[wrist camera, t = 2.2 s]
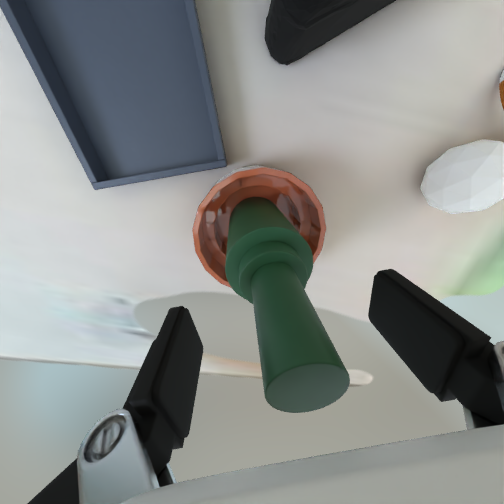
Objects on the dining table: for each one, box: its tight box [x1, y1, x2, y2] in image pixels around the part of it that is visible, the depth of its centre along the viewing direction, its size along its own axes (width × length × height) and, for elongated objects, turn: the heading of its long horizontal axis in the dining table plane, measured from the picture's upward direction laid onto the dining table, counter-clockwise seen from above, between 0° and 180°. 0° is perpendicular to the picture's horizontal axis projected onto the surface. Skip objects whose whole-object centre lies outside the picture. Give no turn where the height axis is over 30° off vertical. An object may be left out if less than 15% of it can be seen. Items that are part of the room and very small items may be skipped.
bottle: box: [225, 197, 350, 413], centre depth 14 cm, size 6×6×18 cm
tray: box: [0, 0, 227, 190], centre depth 14 cm, size 17×12×2 cm
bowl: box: [193, 165, 326, 288], centre depth 20 cm, size 12×12×6 cm
